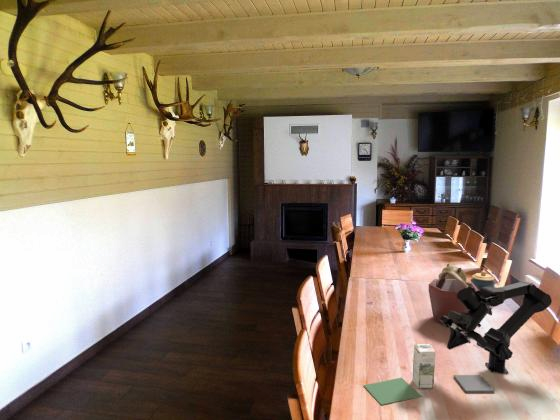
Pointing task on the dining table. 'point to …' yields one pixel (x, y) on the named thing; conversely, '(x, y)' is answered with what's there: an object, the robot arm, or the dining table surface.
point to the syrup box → (423, 366)
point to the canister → (483, 281)
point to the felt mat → (392, 391)
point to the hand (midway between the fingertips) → (448, 348)
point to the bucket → (447, 295)
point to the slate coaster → (473, 384)
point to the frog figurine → (454, 269)
